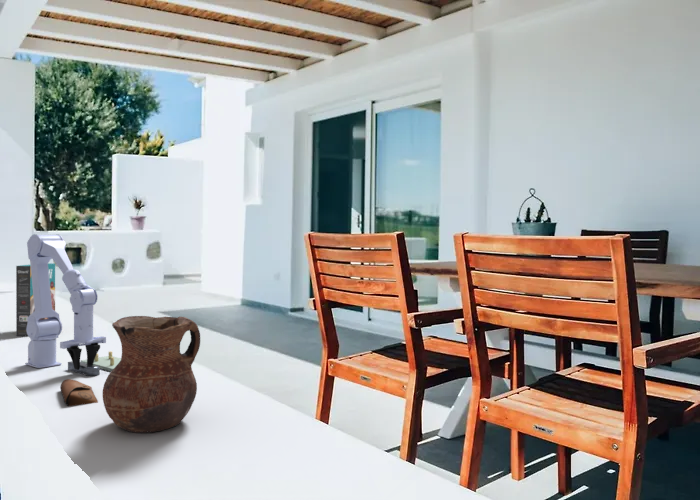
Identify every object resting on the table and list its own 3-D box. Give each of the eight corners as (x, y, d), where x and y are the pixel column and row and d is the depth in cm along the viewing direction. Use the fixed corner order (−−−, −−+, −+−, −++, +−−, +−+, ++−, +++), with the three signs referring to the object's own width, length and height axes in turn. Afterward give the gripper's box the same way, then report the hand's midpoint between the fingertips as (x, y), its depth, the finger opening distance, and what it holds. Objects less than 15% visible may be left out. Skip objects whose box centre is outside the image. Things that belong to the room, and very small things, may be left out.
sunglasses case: (100, 402, 168) (86, 382, 166) (76, 418, 165) (61, 398, 163) (91, 387, 183) (79, 368, 181) (69, 402, 180) (55, 383, 179)
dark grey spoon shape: (65, 370, 206) (65, 362, 206) (77, 368, 209) (77, 360, 209) (90, 377, 196) (90, 369, 196) (102, 375, 199) (102, 366, 199)
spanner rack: (80, 363, 216) (80, 353, 216) (110, 358, 225) (110, 348, 224) (113, 371, 204) (113, 361, 204) (142, 366, 212) (143, 356, 212)
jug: (142, 445, 135) (143, 329, 134) (81, 428, 146) (81, 320, 145) (216, 420, 154) (216, 318, 153) (157, 406, 165) (157, 311, 164)
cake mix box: (30, 336, 268) (30, 266, 268) (16, 336, 268) (16, 265, 268) (55, 328, 290) (55, 263, 289) (42, 328, 290) (42, 263, 289)
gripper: (68, 329, 194) (68, 373, 194) (111, 324, 205) (111, 366, 206) (56, 327, 198) (56, 370, 199) (99, 322, 210) (99, 363, 210)
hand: (83, 368), depth 202 cm, fingers open, 4 cm apart
